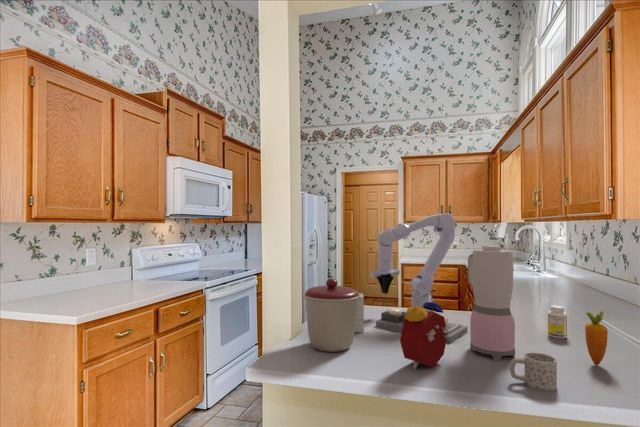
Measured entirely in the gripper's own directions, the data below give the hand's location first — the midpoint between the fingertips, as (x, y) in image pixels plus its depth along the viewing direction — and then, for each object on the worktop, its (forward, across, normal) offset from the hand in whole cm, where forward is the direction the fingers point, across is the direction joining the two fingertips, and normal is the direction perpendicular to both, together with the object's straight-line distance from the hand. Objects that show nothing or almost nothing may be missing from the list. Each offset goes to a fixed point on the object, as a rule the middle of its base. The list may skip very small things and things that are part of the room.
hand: (384, 293), depth 151 cm
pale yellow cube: (+7, -3, -30) cm, 31 cm away
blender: (+10, 0, -46) cm, 47 cm away
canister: (+10, -39, -19) cm, 44 cm away
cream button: (+6, -5, -11) cm, 13 cm away
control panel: (+9, -1, -20) cm, 22 cm away
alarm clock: (+10, -25, -45) cm, 52 cm away
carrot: (+10, +16, -68) cm, 71 cm away
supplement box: (+10, -23, -8) cm, 26 cm away
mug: (+10, -12, -66) cm, 67 cm away
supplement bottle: (+10, +34, -50) cm, 61 cm away
